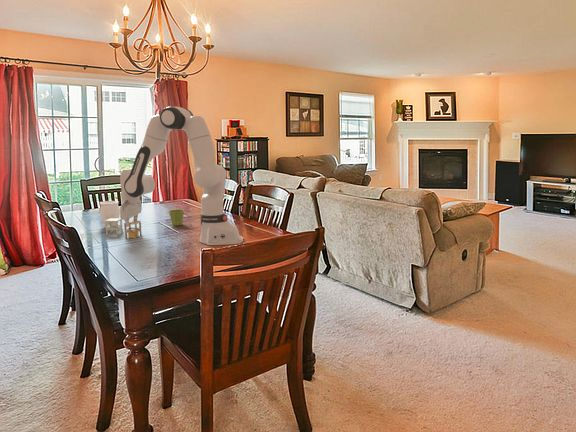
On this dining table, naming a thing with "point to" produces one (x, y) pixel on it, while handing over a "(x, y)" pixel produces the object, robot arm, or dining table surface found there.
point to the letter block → (132, 234)
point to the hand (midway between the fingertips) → (131, 224)
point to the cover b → (114, 227)
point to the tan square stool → (133, 228)
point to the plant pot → (176, 217)
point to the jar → (109, 211)
